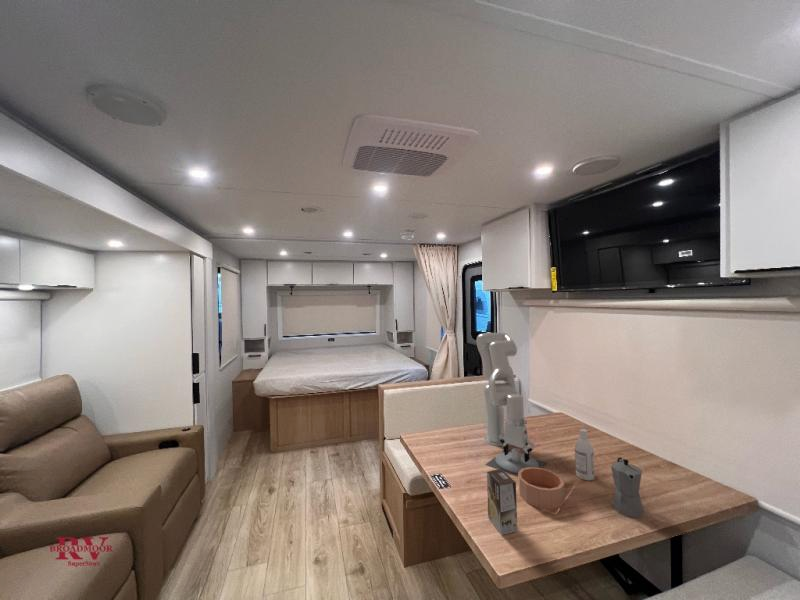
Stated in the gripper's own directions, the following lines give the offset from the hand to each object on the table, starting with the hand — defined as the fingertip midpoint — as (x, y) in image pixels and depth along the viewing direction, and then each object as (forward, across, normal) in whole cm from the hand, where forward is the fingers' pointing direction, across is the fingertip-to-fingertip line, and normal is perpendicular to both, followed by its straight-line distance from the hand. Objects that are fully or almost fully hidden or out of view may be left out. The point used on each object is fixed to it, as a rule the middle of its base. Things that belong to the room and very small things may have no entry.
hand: (516, 457), depth 144 cm
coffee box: (+4, -13, +42) cm, 44 cm away
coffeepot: (+4, -42, +3) cm, 43 cm away
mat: (+3, 0, 0) cm, 3 cm away
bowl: (+3, -17, +17) cm, 24 cm away
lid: (+3, 0, 0) cm, 3 cm away
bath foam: (+4, -26, -10) cm, 28 cm away
